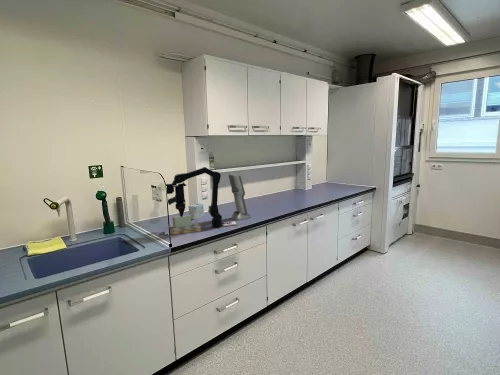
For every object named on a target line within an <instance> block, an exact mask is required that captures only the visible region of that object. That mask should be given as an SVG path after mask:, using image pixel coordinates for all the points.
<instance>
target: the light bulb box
mask: <svg viewBox="0 0 500 375" xmlns="http://www.w3.org/2000/svg"><path fill="white" fill-rule="evenodd" d="M187 208H188V216H189V215H191V220H198V219H200V218H201V219H202V218H204V217H205V211H204V210H205V209H204V204H203V203H194V204H191V205H188V206H187Z"/></svg>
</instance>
